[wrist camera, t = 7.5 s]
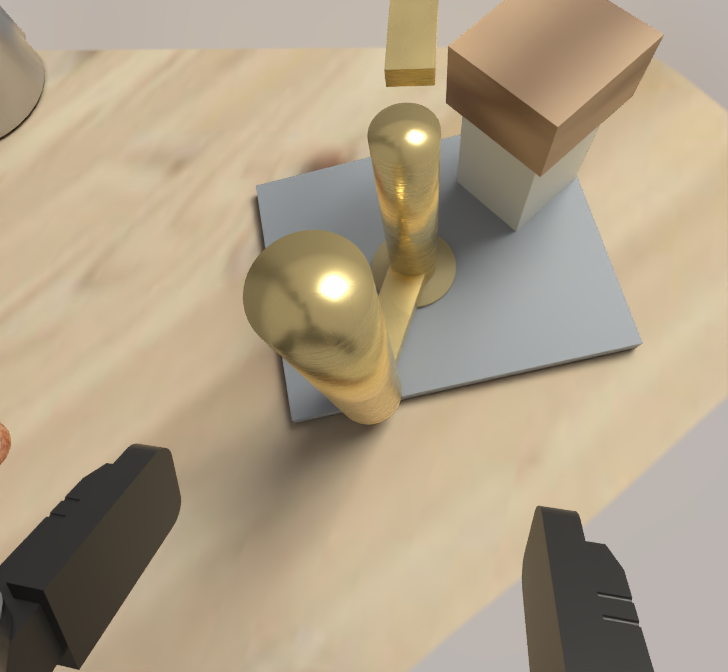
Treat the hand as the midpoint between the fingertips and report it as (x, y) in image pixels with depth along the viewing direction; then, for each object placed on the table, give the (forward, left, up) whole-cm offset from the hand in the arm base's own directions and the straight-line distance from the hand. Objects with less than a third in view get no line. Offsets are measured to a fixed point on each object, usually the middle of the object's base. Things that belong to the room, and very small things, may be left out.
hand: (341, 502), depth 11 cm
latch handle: (-11, +3, -13) cm, 17 cm away
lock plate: (-11, +5, -14) cm, 19 cm away
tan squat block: (-15, +10, -7) cm, 19 cm away
